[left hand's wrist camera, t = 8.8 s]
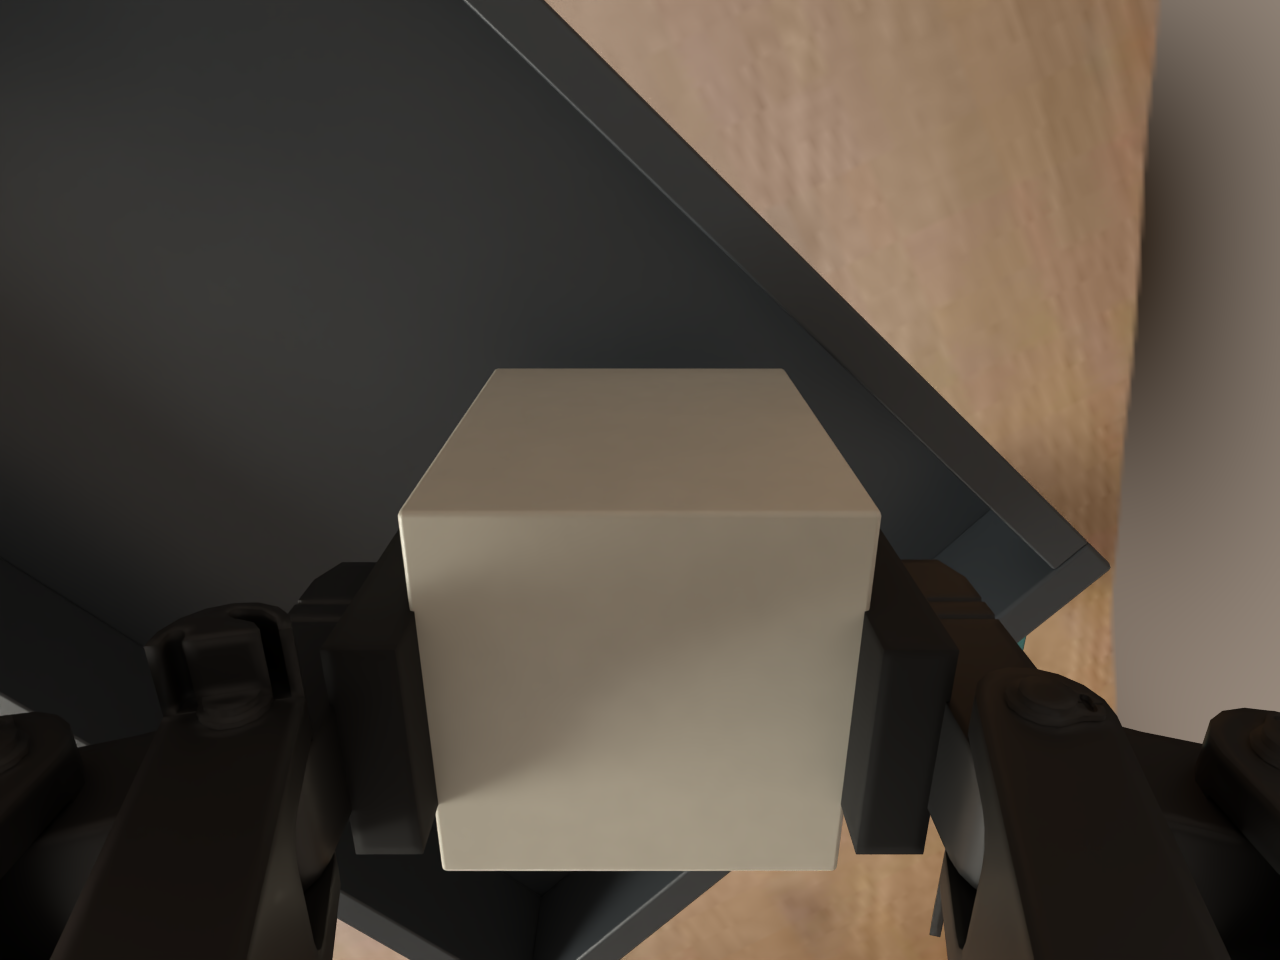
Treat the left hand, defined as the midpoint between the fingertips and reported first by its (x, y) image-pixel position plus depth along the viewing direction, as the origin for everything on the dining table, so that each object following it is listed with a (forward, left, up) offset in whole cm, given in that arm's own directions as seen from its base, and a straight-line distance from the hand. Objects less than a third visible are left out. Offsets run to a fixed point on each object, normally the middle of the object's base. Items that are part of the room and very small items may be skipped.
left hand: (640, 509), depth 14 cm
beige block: (0, 0, 0) cm, 0 cm away
